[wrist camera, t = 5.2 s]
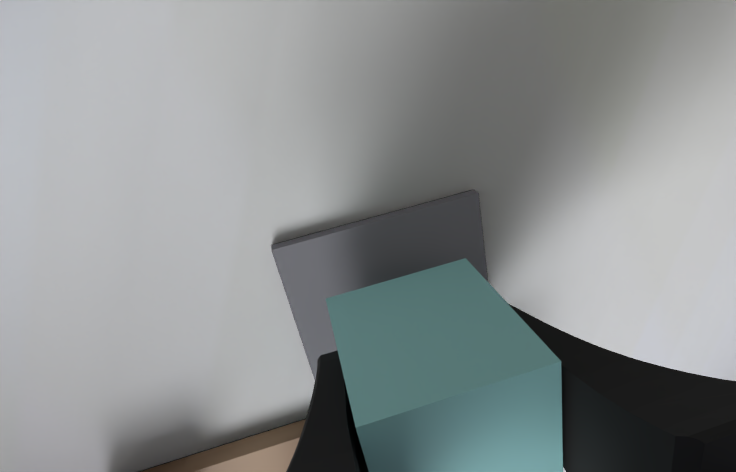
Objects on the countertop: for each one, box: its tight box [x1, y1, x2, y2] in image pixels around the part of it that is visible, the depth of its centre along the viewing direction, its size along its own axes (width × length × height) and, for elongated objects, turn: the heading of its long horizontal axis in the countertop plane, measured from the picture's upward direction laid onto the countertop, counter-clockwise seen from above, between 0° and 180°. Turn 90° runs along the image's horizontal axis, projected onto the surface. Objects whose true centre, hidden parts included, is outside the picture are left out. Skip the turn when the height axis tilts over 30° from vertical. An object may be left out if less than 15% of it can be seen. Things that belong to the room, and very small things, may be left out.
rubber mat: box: [271, 190, 488, 380], centre depth 16 cm, size 7×7×1 cm
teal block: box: [326, 258, 563, 472], centre depth 12 cm, size 4×4×5 cm
